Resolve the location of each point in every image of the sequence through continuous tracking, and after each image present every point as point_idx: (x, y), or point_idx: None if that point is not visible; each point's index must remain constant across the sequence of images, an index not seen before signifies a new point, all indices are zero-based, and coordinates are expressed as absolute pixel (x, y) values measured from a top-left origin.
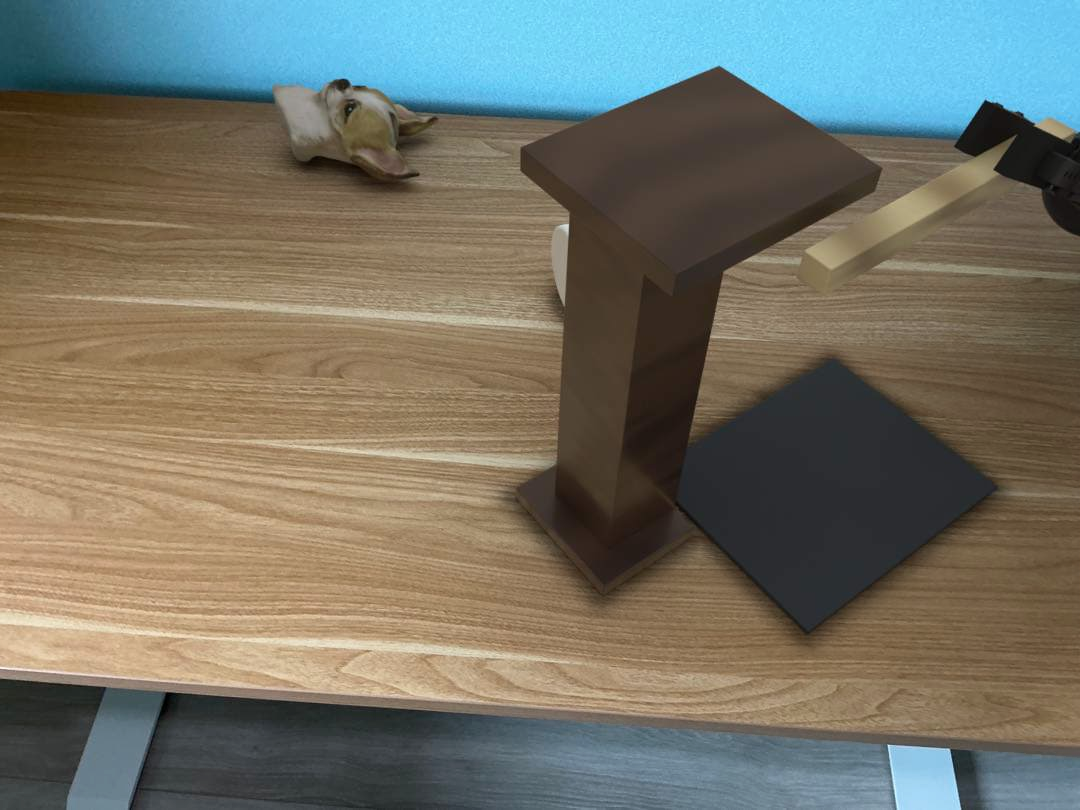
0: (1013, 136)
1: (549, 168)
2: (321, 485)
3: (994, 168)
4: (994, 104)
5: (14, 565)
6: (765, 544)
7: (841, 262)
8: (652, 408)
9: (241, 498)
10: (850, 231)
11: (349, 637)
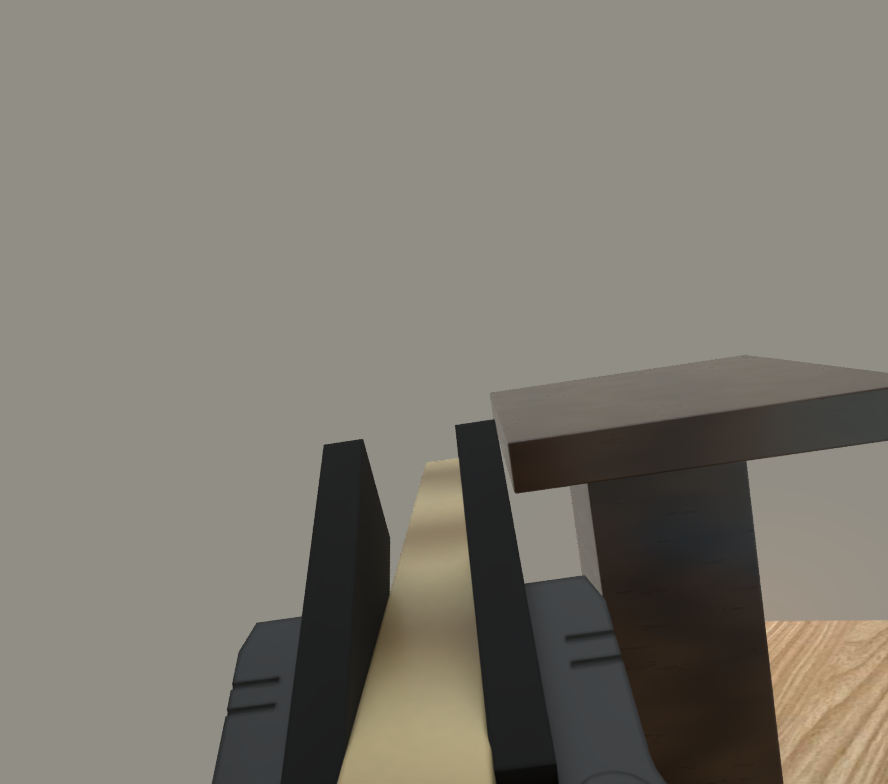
0: None
1: (696, 362)
2: (851, 760)
3: (388, 536)
4: (478, 440)
5: (805, 622)
6: None
7: (426, 466)
8: None
9: (846, 713)
10: None
11: None
